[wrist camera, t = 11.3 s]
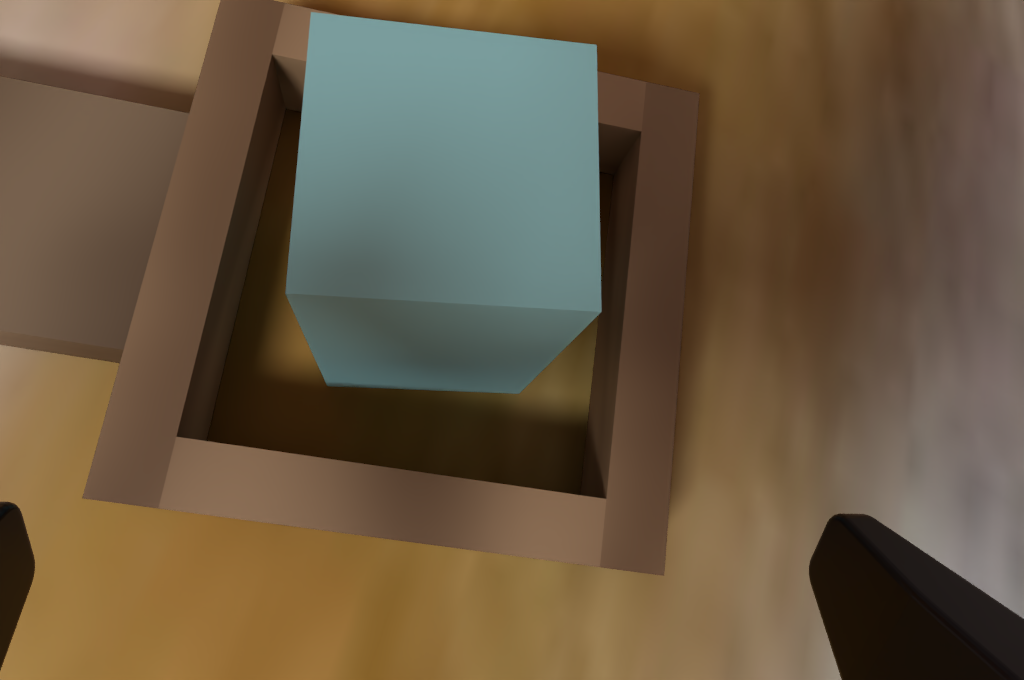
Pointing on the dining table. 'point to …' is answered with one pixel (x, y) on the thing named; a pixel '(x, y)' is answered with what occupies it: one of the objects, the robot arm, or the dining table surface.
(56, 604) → the dining table surface
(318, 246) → the teal peg
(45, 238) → the square frame with bar
